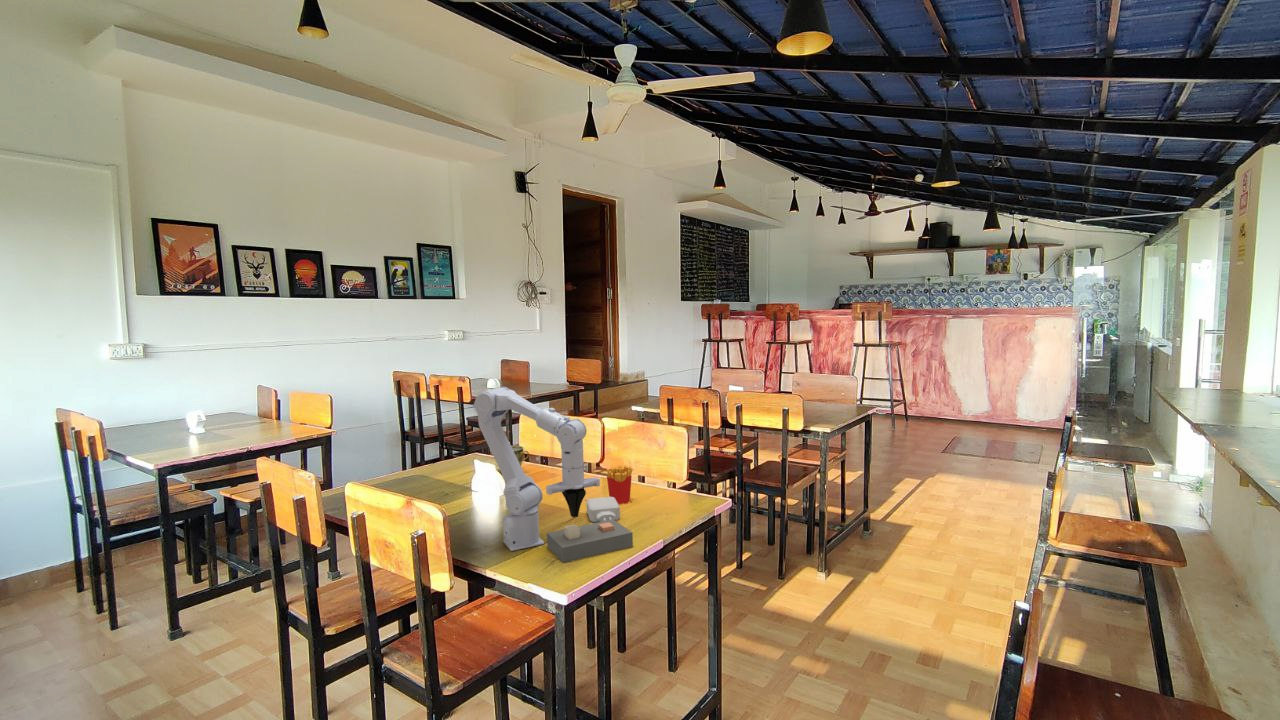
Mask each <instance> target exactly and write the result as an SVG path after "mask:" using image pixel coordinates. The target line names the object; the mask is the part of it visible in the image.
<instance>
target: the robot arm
mask: <svg viewBox="0 0 1280 720" xmlns="http://www.w3.org/2000/svg"><path fill="white" fill-rule="evenodd" d="M473 402H474V403H473V408H474V409H475V412H476V414H477V419H478V427H479V429H480V431H481V434H482V435H483V437H484V440H485V442H486V443H487V446H488V447H489V450H490V453H491V454H492V456H493V458H494V461H495V463H496V465H497V467H498V468H499V471H500V473H501V475H502V477H503V480H504V482H505V486H504V490H503V495H504V498H505V506H506V508H507V510H508V512H510V513H508V514H505V515H503V518H502V526H503V539H502V541H503V543H504V545H505V546H506V547H507V548H508V549H509V550H510V551H511V552H515V551H517V550H521V549H522V550H523V549H527V548H533V547H537V546H543V545H545V541H544V540H543V539H542V538H540V525H539V524H540V522H539V521H540V520H539V519H540V518H539V508H540V507H539V506H540V504H541V502H542V501H543V496H544V495H543V491H542V489H541V487H540V486H539V485H538V484H537V483H536V482H535V481H534V479H533V477H531V476H529V475H527V474H525V472H524V470H523V467H522V465H521V466H520V464H519V461H518V459H517V457H516V455H515V453H514V451H513V449H512V447H511V446H512V445H511V443H510V441H509V439H508V437H507V435H506V433H505V430H504V428H503V427H502V424H501V423H502V421H503V418H504V416H505V414H507V412H508V411H509V410H512V411H514V412H516V413H518V414H520V415H523V416H525V417H527V418H529V419H532V420H533V421H535V423H536V427H538V428H539V429H542V430H543V431H545V432H547V433H549V434H551V435H553V436H555V437H556V438H557V441H558V442H559V444H560V449H561V474H562V475H561V478H562V479H561V480H562V481H560V482H557V483H553V484H548V485H546V487H545V489H546V494H547V495H549V496H551V495H553V494H556V493H561V494H562V496H563V497H564V498H565V501H566V505H567V506H568V509H569V513H570V517H572V518H578V517H579V513H580V510H581V509H580V508H581V505H582V502H583V500H584V499H585V496H586V494H587V490H586V488H591V487H600V485H601V483H600V482H601V480H600V478H599V477H590V478H589V477H588V478H587V477H586V478H585V473H584V472H585V468H584V466H585V463H584V461H585V460H584V441H583V440H584V439H585V437H586V435H587V426H586V425H585V423H584V422H583V421H582V420H580V419H579V418H575V419H571V418H570V416H568V415H566V416H565V415H563V414H561V413H559V412H557V411H556V409H555V408H554V407H545V408H540V407H538V406H537V405H535V404H533V402H530V401H529V400H527V399H525V398H523V396H521V395H520V394H519V395H518V394H517V393H516V391H515V390H513V389H510V388H508V387H506V386H500V387H498V388H497V387H496V388H494V389H490V390H482V391H480V392H478V394H477V395H476V397H475V400H474V401H473Z"/></svg>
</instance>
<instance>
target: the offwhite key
mask: <svg viewBox="0 0 1280 720" xmlns="http://www.w3.org/2000/svg"><path fill="white" fill-rule="evenodd" d="M563 529H564V537H565V538H566V539H568V540H571V539H576V538H580V528H579V527H578V525H577V524H570V525H564V526H563Z"/></svg>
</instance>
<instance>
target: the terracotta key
mask: <svg viewBox="0 0 1280 720" xmlns="http://www.w3.org/2000/svg"><path fill="white" fill-rule="evenodd" d="M598 527H599V530H600V531H601V532H603V533H604V532H608V531H613V530H614V526H613V525H612V524H611V523H609V522H608V523H603V524H598Z"/></svg>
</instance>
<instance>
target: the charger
mask: <svg viewBox="0 0 1280 720" xmlns="http://www.w3.org/2000/svg"><path fill="white" fill-rule="evenodd" d="M585 501H586V513H587V516H588V518H589V521H590V523H598V522H603V521H608V520H612V519H614V520H615V521H619V520H620V519H621V507H620V504H618V503H617V501H616V499H615V498H614V497H609V496H605V497H604V496H603V497H593V498H592V497H591V498H589V499H587V500H585Z"/></svg>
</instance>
